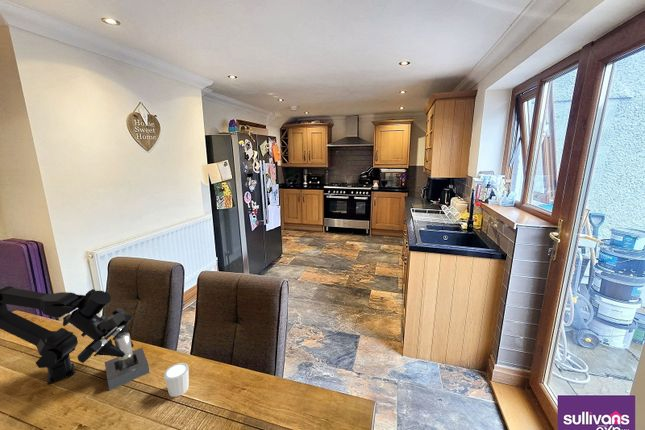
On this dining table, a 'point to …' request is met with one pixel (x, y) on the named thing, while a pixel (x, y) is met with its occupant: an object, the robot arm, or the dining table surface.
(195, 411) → the dining table surface
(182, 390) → the white cylinder
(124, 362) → the grey rounded cylinder
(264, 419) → the dining table surface
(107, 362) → the collar block
